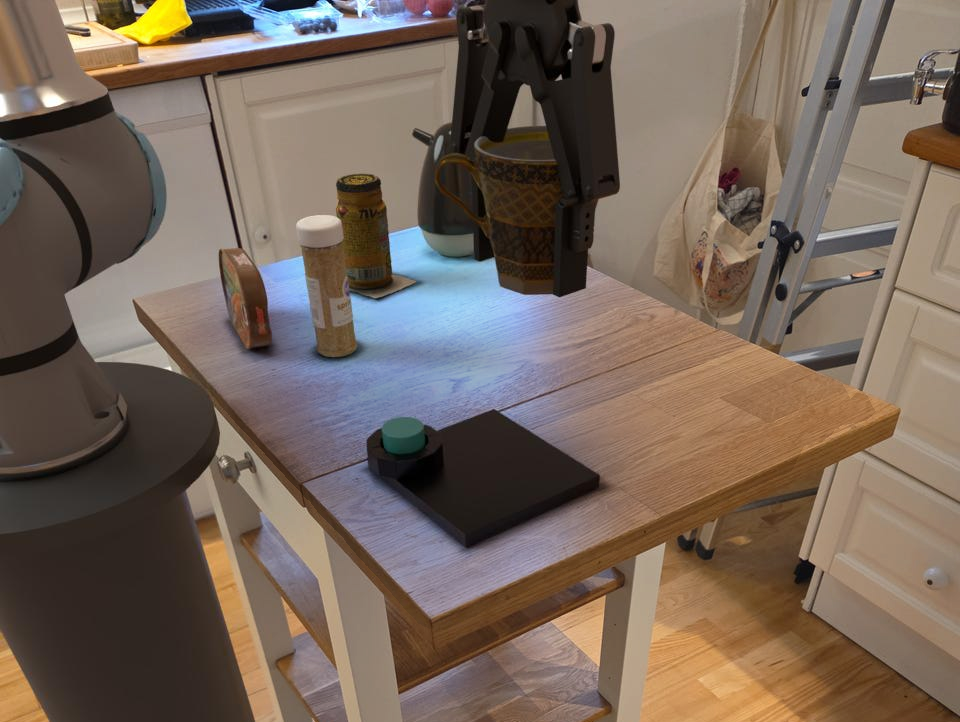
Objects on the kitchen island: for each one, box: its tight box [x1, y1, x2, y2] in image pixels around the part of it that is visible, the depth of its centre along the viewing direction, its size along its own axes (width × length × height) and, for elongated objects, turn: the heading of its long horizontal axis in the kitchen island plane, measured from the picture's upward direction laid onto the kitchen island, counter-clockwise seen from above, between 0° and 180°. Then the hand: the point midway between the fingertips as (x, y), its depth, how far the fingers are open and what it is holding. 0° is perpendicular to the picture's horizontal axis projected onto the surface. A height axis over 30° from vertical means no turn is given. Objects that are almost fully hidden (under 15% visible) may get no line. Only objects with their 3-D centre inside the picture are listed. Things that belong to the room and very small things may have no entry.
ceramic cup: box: [435, 125, 602, 296], centre depth 68 cm, size 13×10×10 cm
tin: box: [218, 247, 273, 350], centre depth 98 cm, size 15×3×8 cm, turn 23°
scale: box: [365, 408, 601, 548], centre depth 76 cm, size 16×15×3 cm
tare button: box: [381, 416, 425, 454], centre depth 75 cm, size 4×4×2 cm
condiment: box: [335, 173, 418, 299], centre depth 106 cm, size 7×8×12 cm
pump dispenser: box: [411, 121, 474, 258], centre depth 113 cm, size 10×10×15 cm
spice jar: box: [295, 214, 358, 358], centre depth 92 cm, size 5×5×14 cm
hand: (527, 273), depth 70 cm, fingers closed on ceramic cup, 9 cm apart
